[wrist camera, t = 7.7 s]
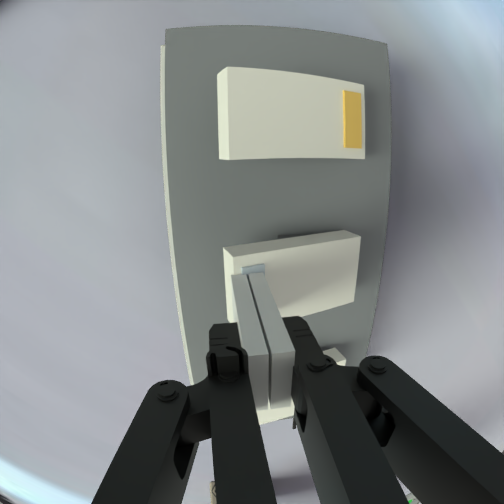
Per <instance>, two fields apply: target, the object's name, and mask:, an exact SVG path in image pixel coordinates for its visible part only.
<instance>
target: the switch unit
mask: <svg viewBox="0 0 504 504" xmlns="http://www.w3.org/2000/svg"><path fill="white" fill-rule="evenodd" d="M226 67H244V68H258V69H269V70H279V71H287V72H295V73H302V74H309V75H316V76H322V77H327V78H333V79H338V80H343V81H348V82H353V83H358V84H362V85H364V98H365V159H346V158H269V159H242V160H223V159H219V138H218V96H217V74H218V73H219V72H221V71H222V70H223V69H225V68H226ZM160 104H161V139H162V161H163V177H164V192H165V204H166V216H167V227H168V237H169V246H170V255H171V264H172V272H173V280H174V287H175V295H176V302H177V309H178V315H179V322H180V328H181V334H182V340H183V346H184V352H185V357H186V363H187V368H188V373H189V379H190V384H191V385H194V384H197V383H199V382H201V381H202V380H204V379H205V378H206V377H207V375H208V371H207V364H206V355H207V353H208V352H209V330H210V329H211V327H212V326H213V324H220V323H230V322H229V321H228V319H227V304H226V289H225V272H224V255H223V247H229V246H236V245H243V244H249V243H256V242H263V241H270V240H277V239H284V238H291V237H297V236H304V235H311V234H318V233H325V232H333V231H340V230H346V231H349V232H351V233H354V234H356V235H359V236H361V241H360V252H359V262H358V271H357V280H356V288H355V296H354V302H351V303H348V304H345V305H341V306H338V307H334V308H331V309H328V310H324V311H321V312H317V313H314V314H310V315H306V316H303V317H301V318H303V319H304V320H305V321H307V323H308V325H309V327H310V330H311V331H312V333H313V335H314V336H315V338H316V340H317V342H318V344H319V346H320V348H321V350H322V351H325V350H328V349H332V348H336V349H337V350H338V351H339V352H340V353H341V354H342V355H343V356H344V357H345V358H346V364H345V366H355V367H359V364H360V362H361V360H363V359H364V358H366V354H367V350H368V345H369V340H370V336H371V331H372V326H373V321H374V315H375V310H376V304H377V298H378V292H379V286H380V279H381V272H382V265H383V257H384V249H385V240H386V231H387V220H388V208H389V194H390V175H391V91H390V74H389V60H388V49H387V44H386V43H382V42H378V41H373V40H369V39H364V38H359V37H354V36H349V35H343V34H337V33H331V32H324V31H317V30H309V29H299V28H288V27H275V26H252V25H219V26H196V27H183V28H172V29H166V33H165V45H161V61H160ZM293 417H294V415H293V416H290V417H286V418H283V419H289V418H293ZM279 420H282V419H279Z"/></svg>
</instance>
